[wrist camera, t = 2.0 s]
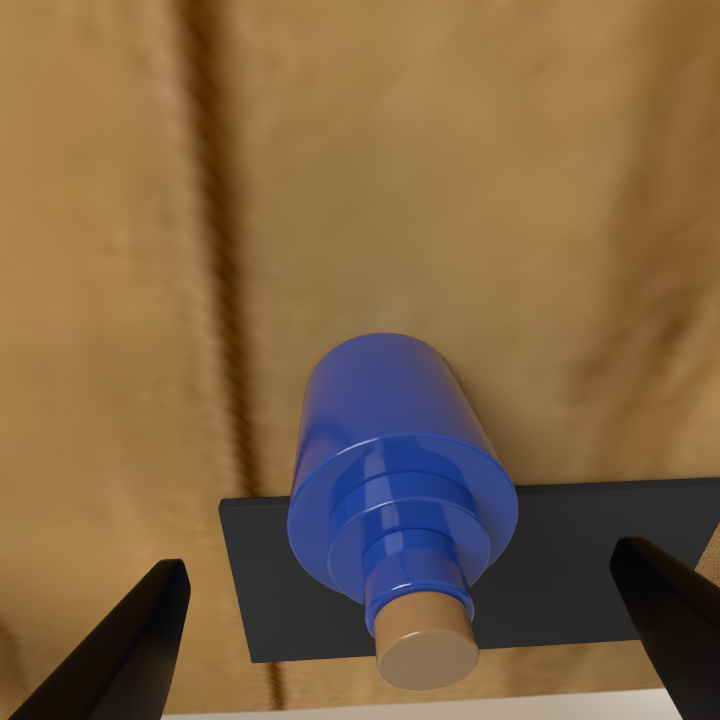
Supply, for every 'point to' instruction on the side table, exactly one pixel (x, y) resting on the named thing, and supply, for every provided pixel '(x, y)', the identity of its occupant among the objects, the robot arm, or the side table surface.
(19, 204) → the side table surface
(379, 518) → the flask
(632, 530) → the mat
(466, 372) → the side table surface
